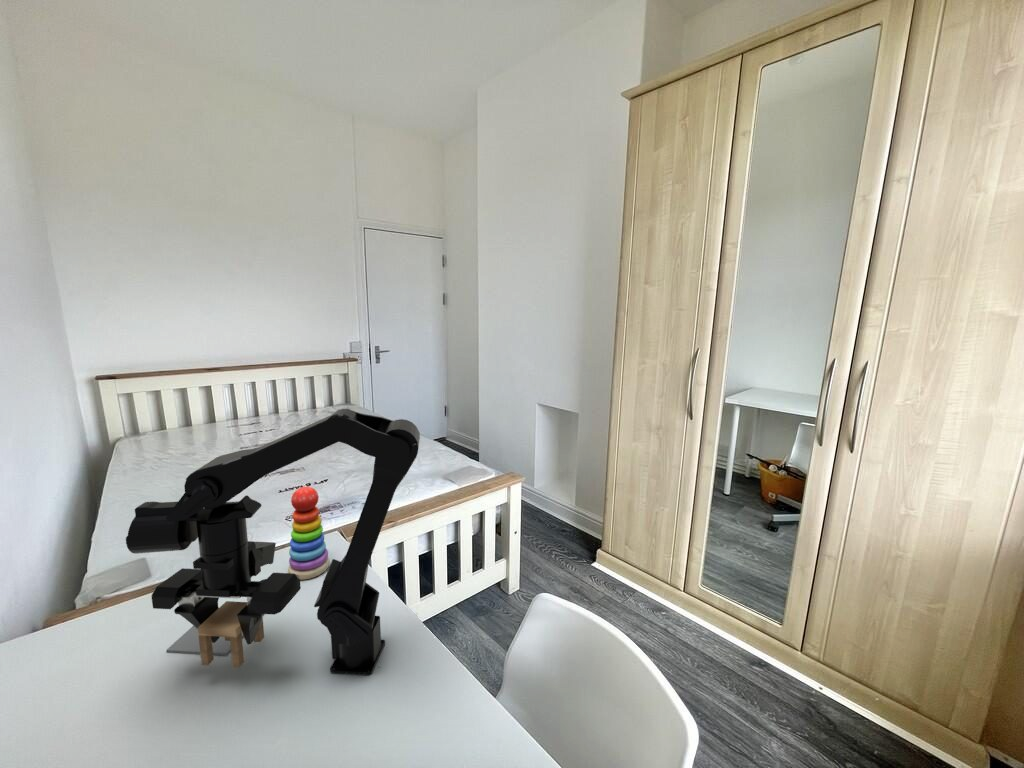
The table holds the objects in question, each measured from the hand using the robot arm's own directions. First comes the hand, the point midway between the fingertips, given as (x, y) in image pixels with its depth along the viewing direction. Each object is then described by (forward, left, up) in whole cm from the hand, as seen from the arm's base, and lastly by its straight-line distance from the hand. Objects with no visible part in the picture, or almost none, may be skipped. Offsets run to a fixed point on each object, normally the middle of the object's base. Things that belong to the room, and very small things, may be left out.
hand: (233, 641), depth 62 cm
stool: (0, 0, -2) cm, 2 cm away
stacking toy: (+3, -26, -6) cm, 27 cm away
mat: (+9, -8, -5) cm, 13 cm away
